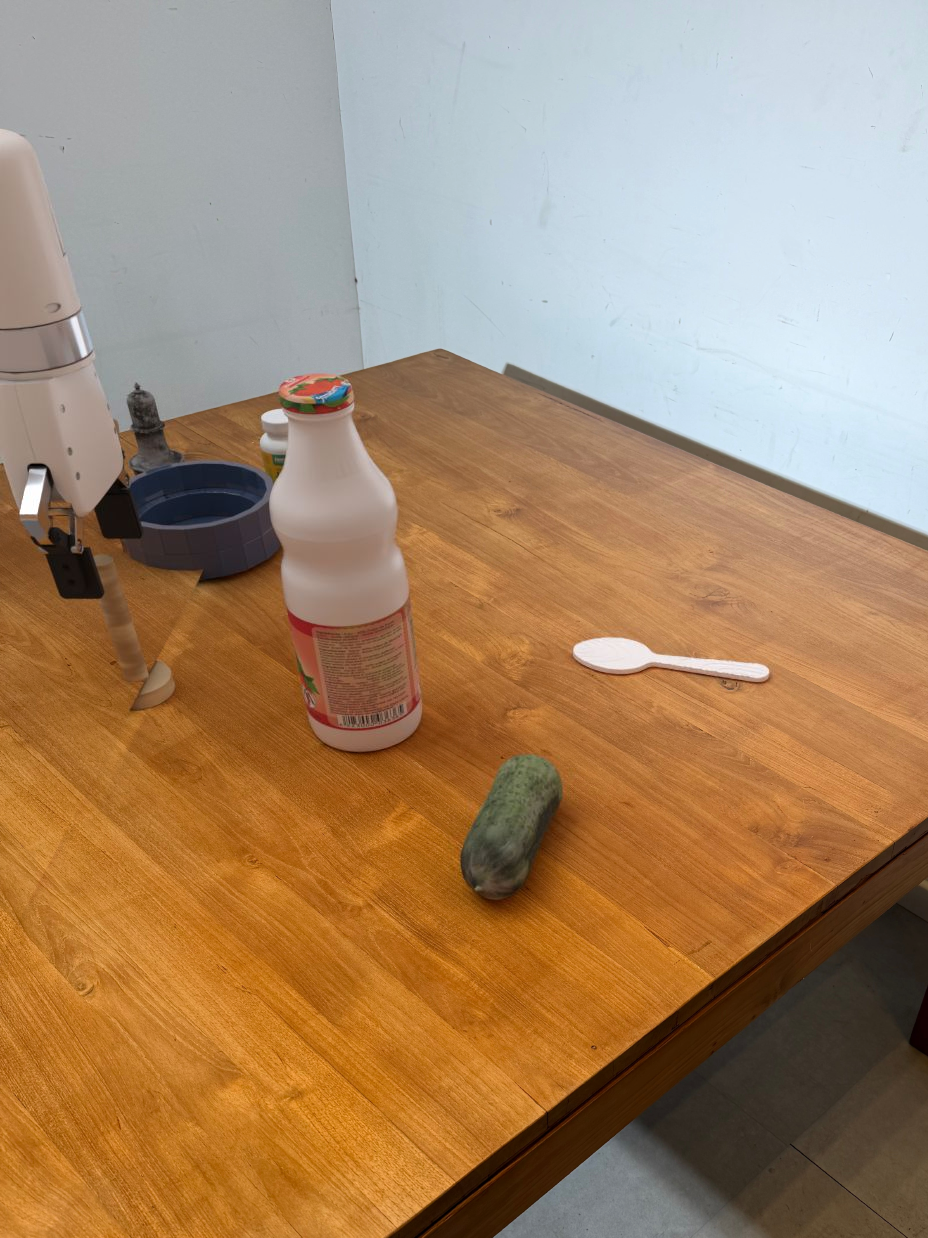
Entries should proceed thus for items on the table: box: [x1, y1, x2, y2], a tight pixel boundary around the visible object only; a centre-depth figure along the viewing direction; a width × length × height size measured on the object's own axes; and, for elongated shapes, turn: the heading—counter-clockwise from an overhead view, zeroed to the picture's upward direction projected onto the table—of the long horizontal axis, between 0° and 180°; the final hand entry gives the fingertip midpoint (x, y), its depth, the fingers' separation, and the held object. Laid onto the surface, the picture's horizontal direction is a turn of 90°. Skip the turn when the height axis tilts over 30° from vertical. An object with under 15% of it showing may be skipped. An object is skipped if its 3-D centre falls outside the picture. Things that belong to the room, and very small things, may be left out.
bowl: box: [119, 459, 282, 581], centre depth 114 cm, size 16×16×6 cm
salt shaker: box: [126, 382, 186, 476], centre depth 122 cm, size 6×6×12 cm
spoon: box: [572, 636, 770, 683], centre depth 102 cm, size 5×18×1 cm, turn 79°
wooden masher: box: [93, 553, 176, 711], centre depth 93 cm, size 6×6×12 cm
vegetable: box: [459, 753, 564, 901], centre depth 81 cm, size 14×5×5 cm, turn 167°
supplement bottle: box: [259, 408, 289, 483], centre depth 121 cm, size 5×5×10 cm
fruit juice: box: [269, 373, 423, 753], centre depth 85 cm, size 9×9×28 cm
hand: (104, 566), depth 89 cm, fingers open, 9 cm apart
